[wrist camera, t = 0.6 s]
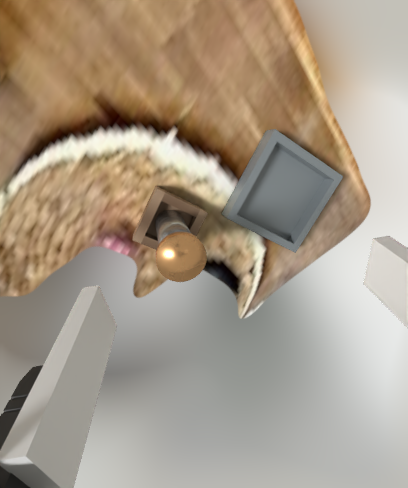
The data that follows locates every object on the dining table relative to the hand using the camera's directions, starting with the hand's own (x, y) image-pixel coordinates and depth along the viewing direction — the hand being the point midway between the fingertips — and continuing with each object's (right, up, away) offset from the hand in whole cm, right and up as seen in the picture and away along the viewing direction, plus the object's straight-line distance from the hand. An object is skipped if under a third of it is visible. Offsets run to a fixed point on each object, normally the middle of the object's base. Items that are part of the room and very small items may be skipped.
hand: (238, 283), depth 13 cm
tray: (+9, +9, +23) cm, 27 cm away
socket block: (-6, +5, +21) cm, 23 cm away
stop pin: (-6, +5, +21) cm, 22 cm away
